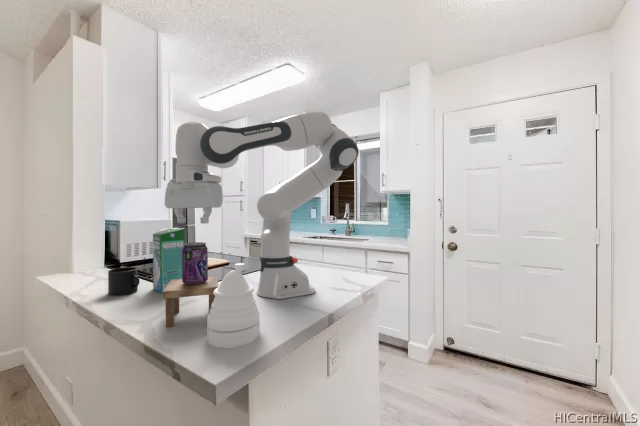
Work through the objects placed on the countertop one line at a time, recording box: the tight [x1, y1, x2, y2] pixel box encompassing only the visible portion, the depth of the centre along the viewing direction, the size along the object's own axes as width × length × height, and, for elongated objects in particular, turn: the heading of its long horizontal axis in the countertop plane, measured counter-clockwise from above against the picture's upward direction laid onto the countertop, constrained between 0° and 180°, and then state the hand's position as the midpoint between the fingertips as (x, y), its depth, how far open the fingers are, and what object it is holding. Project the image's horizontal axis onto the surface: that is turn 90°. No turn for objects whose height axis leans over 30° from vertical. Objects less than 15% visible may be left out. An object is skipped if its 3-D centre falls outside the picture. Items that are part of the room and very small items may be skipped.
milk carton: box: [152, 227, 186, 294], centre depth 115 cm, size 9×9×25 cm
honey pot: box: [206, 262, 261, 349], centre depth 72 cm, size 13×13×18 cm
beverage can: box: [182, 241, 209, 285], centre depth 86 cm, size 7×7×12 cm
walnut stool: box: [162, 276, 219, 328], centre depth 85 cm, size 14×14×10 cm
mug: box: [107, 266, 140, 297], centre depth 110 cm, size 9×12×9 cm
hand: (192, 223), depth 85 cm, fingers open, 8 cm apart
